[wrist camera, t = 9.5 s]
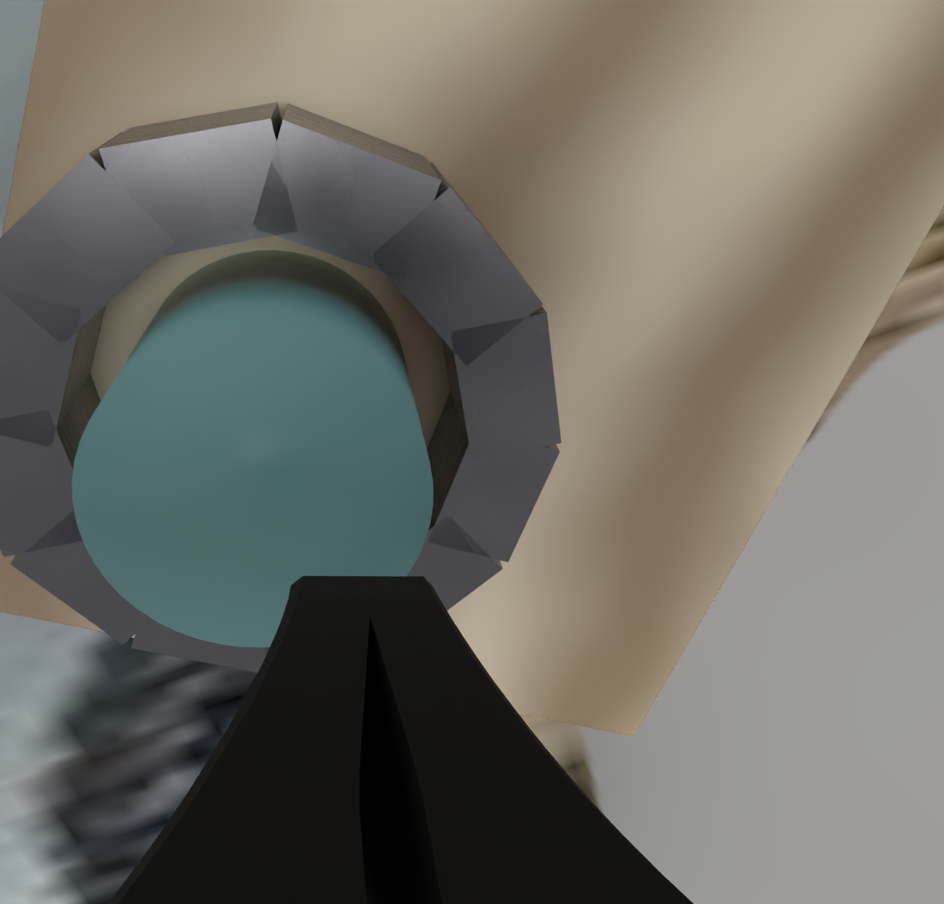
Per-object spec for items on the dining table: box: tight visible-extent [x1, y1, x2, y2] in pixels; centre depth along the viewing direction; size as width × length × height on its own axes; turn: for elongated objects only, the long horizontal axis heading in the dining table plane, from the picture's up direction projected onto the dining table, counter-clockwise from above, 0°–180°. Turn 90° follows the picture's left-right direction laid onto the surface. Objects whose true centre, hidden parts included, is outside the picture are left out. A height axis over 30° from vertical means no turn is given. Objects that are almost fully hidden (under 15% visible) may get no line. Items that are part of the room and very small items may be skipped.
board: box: [0, 0, 944, 736], centre depth 17 cm, size 16×20×1 cm
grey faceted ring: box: [0, 102, 561, 673], centre depth 16 cm, size 10×10×2 cm
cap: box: [72, 250, 433, 647], centre depth 14 cm, size 5×5×5 cm
